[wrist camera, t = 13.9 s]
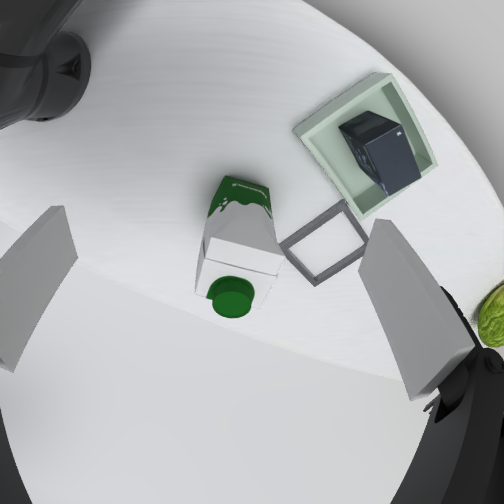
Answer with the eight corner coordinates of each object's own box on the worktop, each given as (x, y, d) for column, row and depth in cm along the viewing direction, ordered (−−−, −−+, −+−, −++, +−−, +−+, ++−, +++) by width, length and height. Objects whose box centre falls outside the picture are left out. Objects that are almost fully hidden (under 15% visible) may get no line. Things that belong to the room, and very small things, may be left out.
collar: (277, 245, 48) (277, 249, 47) (342, 199, 43) (344, 202, 42) (313, 282, 53) (314, 287, 52) (372, 244, 49) (374, 248, 48)
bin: (292, 129, 37) (299, 137, 32) (374, 72, 31) (391, 73, 27) (349, 204, 44) (360, 221, 39) (419, 153, 38) (438, 165, 34)
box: (336, 126, 36) (364, 144, 27) (367, 109, 34) (403, 122, 26) (359, 169, 40) (388, 198, 31) (388, 153, 38) (423, 178, 29)
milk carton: (205, 218, 45) (185, 311, 29) (221, 167, 40) (203, 241, 24) (257, 232, 47) (264, 327, 30) (277, 184, 42) (298, 266, 26)
